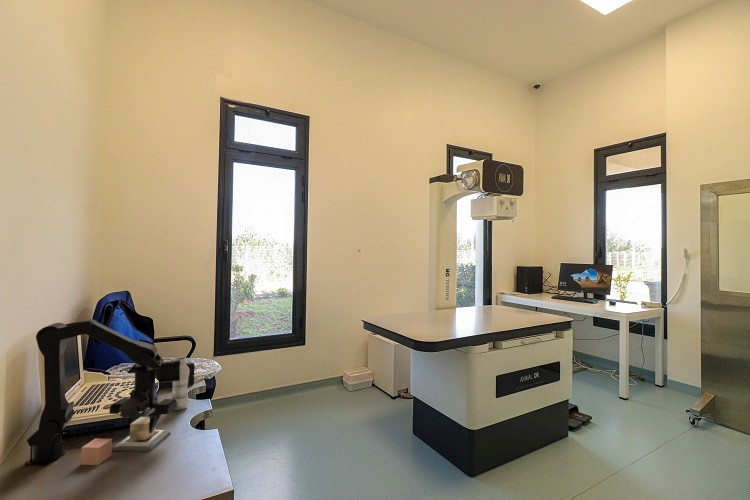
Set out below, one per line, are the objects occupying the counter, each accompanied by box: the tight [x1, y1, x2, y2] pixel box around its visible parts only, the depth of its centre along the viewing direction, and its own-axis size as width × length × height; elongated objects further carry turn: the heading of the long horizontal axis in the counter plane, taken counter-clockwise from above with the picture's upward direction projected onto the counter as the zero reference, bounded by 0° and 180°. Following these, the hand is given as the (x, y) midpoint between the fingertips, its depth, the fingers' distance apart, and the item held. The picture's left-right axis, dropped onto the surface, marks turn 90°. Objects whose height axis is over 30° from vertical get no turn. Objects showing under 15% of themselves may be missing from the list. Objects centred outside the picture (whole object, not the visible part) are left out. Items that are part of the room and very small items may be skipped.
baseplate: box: [112, 429, 171, 452], centre depth 111 cm, size 12×10×2 cm
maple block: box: [129, 416, 157, 440], centre depth 112 cm, size 5×5×5 cm
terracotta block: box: [80, 437, 113, 466], centre depth 101 cm, size 5×5×5 cm
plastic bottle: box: [170, 356, 190, 411], centre depth 137 cm, size 6×7×20 cm
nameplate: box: [155, 362, 196, 390], centre depth 159 cm, size 21×2×10 cm, turn 121°
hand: (142, 432), depth 111 cm, fingers closed on maple block, 5 cm apart
